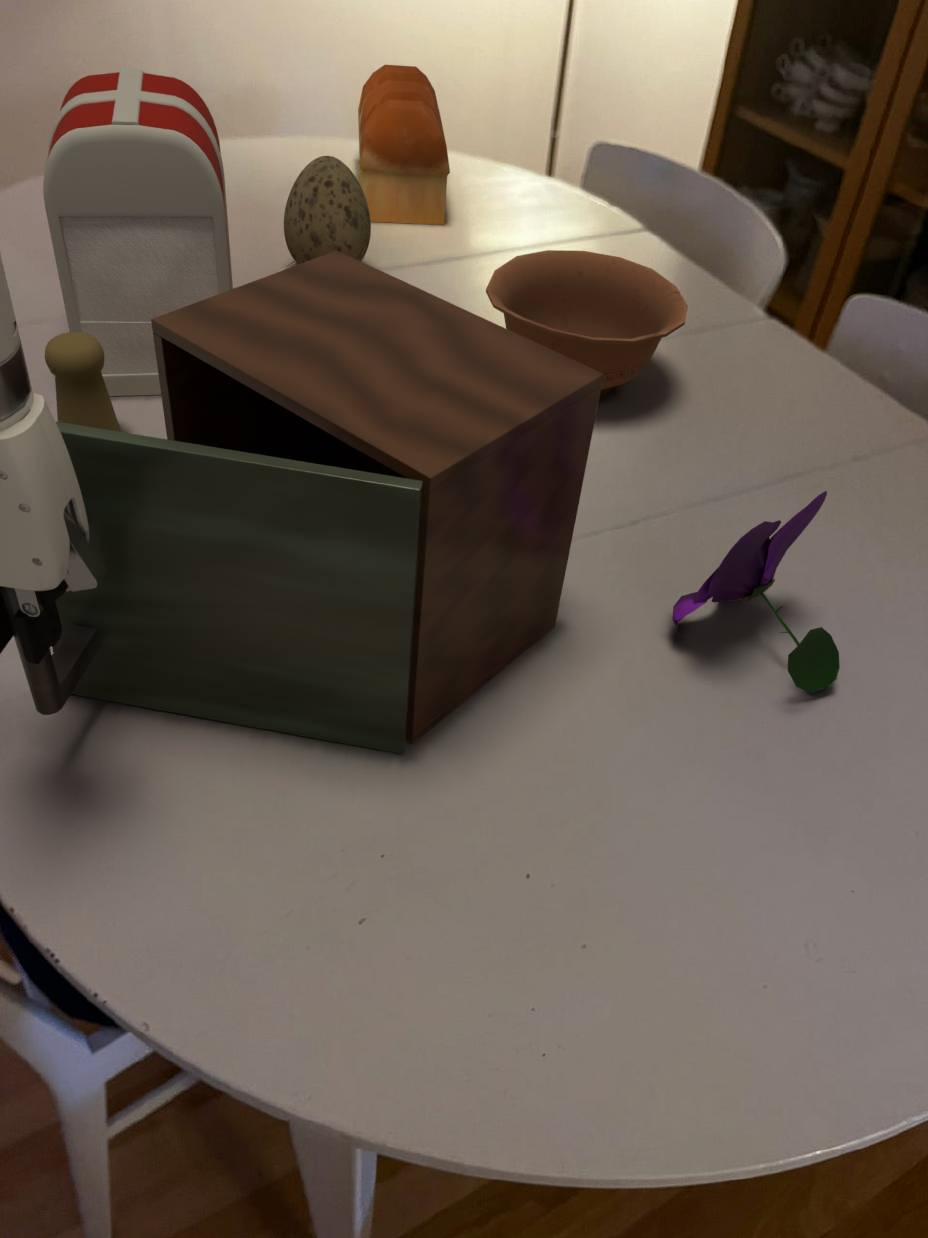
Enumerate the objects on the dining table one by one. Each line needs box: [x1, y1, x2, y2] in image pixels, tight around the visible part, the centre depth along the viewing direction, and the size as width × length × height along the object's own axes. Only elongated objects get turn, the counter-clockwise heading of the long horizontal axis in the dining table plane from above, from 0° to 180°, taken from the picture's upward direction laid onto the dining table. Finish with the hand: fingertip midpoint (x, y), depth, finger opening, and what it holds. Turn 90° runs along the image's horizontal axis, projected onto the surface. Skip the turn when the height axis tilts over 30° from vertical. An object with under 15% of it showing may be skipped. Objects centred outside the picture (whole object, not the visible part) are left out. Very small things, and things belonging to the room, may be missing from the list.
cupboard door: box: [0, 421, 423, 755], centre depth 65 cm, size 8×26×24 cm, turn 81°
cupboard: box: [151, 251, 604, 745], centre depth 78 cm, size 18×26×24 cm
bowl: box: [485, 249, 689, 398], centre depth 114 cm, size 22×22×11 cm
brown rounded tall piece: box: [44, 331, 122, 432], centre depth 97 cm, size 6×6×11 cm
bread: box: [357, 64, 451, 226], centre depth 150 cm, size 25×12×15 cm, turn 5°
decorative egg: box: [283, 155, 372, 265], centre depth 127 cm, size 11×11×15 cm
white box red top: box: [42, 68, 234, 397], centre depth 105 cm, size 16×18×27 cm
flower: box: [671, 490, 841, 694], centre depth 82 cm, size 15×15×14 cm
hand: (23, 642), depth 63 cm, fingers closed on cupboard door, 2 cm apart
